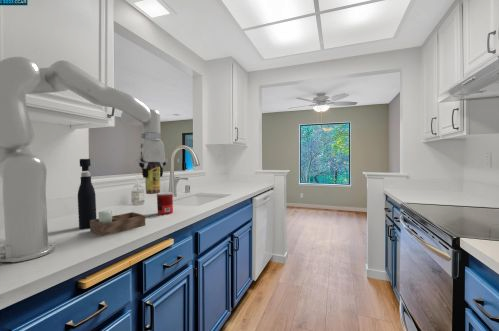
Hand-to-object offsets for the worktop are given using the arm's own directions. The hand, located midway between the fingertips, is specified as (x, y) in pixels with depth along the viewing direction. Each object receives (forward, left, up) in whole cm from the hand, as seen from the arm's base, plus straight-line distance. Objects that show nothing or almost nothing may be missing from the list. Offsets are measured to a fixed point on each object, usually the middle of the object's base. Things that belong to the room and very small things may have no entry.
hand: (152, 176), depth 105 cm
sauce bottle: (0, 0, -8) cm, 8 cm away
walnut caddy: (-13, +5, -21) cm, 26 cm away
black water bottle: (-20, +19, -21) cm, 35 cm away
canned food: (+14, +13, -21) cm, 29 cm away
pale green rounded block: (-18, +5, -21) cm, 28 cm away
